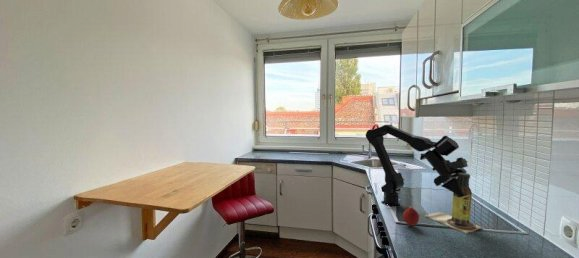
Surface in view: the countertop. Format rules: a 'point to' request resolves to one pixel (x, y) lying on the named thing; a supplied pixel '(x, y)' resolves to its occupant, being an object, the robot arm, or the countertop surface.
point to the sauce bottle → (462, 201)
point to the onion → (410, 216)
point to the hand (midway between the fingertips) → (466, 194)
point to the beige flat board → (447, 221)
